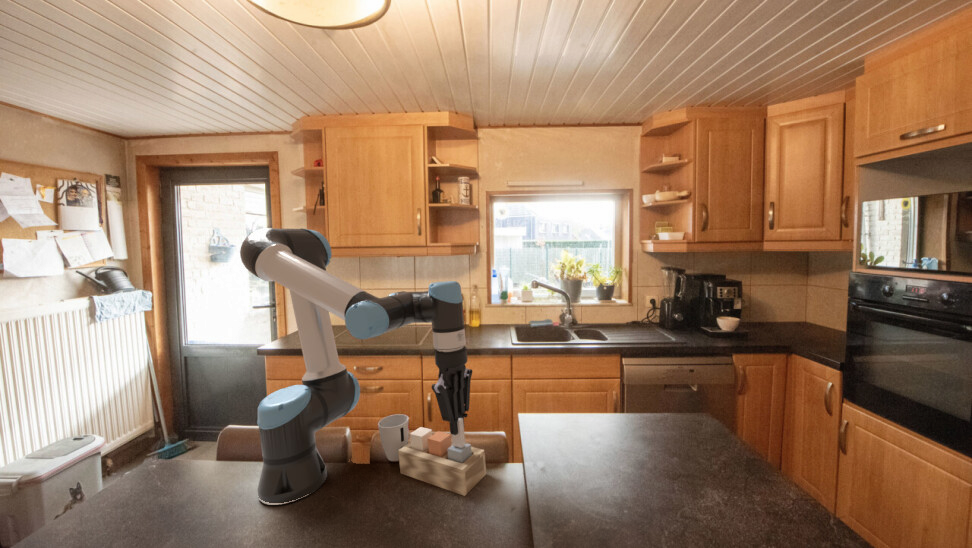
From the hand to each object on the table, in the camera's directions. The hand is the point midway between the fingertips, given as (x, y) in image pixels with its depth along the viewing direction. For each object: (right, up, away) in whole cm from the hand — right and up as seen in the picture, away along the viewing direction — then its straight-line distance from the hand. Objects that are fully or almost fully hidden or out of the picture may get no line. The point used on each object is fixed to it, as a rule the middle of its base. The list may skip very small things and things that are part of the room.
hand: (458, 445), depth 88 cm
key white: (-10, -6, +7) cm, 13 cm away
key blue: (+1, -6, 0) cm, 6 cm away
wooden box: (-4, -9, +4) cm, 10 cm away
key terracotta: (-5, -5, +4) cm, 8 cm away
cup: (-18, -10, +14) cm, 25 cm away
